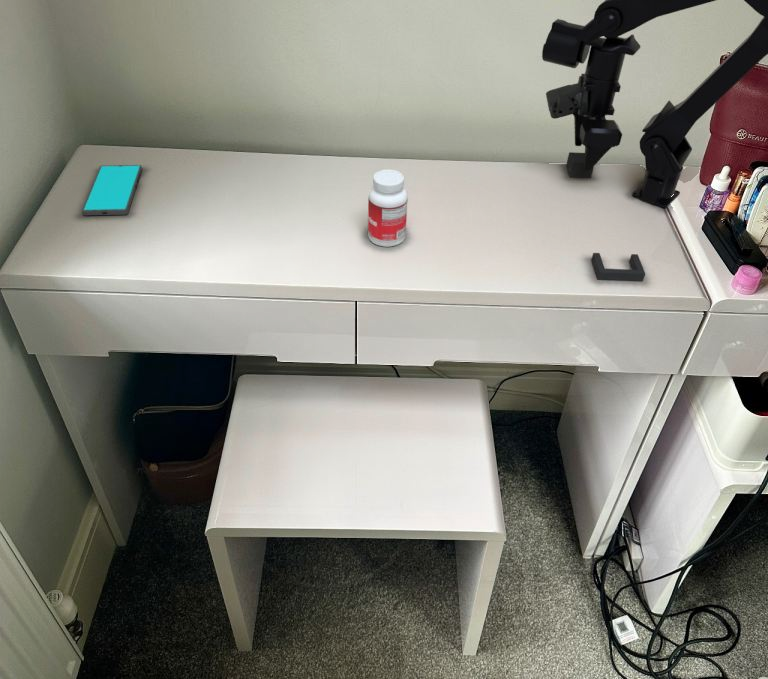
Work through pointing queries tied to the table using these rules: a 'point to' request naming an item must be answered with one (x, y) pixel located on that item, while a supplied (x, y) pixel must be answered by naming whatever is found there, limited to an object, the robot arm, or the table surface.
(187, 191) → the table surface
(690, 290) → the table surface
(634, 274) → the black u-shaped bracket
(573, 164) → the dark grey block
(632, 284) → the table surface
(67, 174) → the table surface
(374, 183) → the pill bottle
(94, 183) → the smartphone
